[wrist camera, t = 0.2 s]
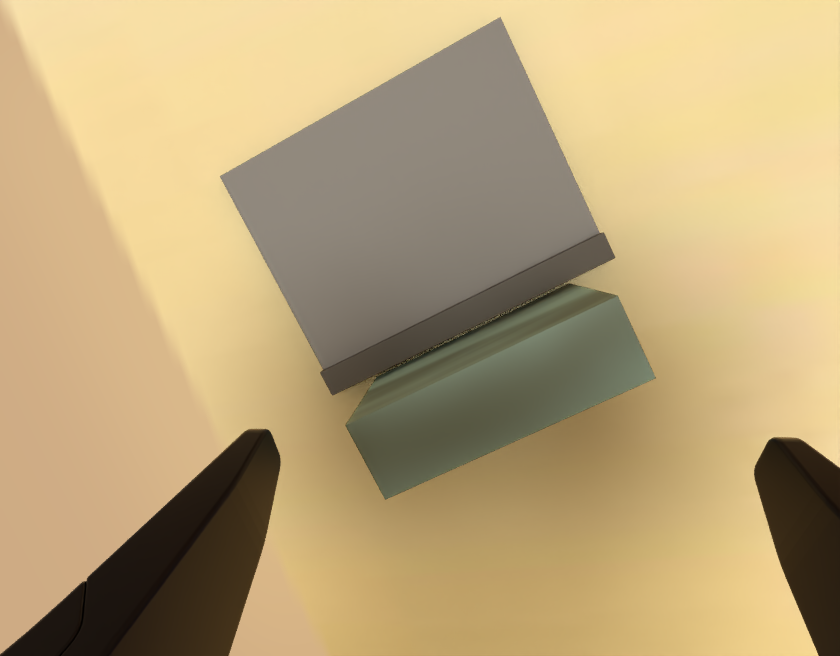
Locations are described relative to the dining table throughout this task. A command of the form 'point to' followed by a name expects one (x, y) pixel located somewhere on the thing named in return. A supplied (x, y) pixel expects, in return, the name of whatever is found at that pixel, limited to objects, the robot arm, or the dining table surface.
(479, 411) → the grey-green rectangular block
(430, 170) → the slate board
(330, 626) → the dining table surface
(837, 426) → the dining table surface
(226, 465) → the robot arm
